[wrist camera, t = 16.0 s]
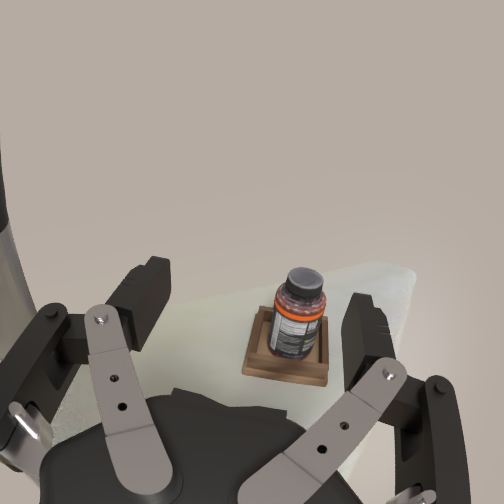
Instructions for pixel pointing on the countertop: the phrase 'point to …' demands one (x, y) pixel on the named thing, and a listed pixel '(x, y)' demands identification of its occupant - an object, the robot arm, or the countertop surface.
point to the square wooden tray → (285, 369)
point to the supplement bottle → (297, 314)
